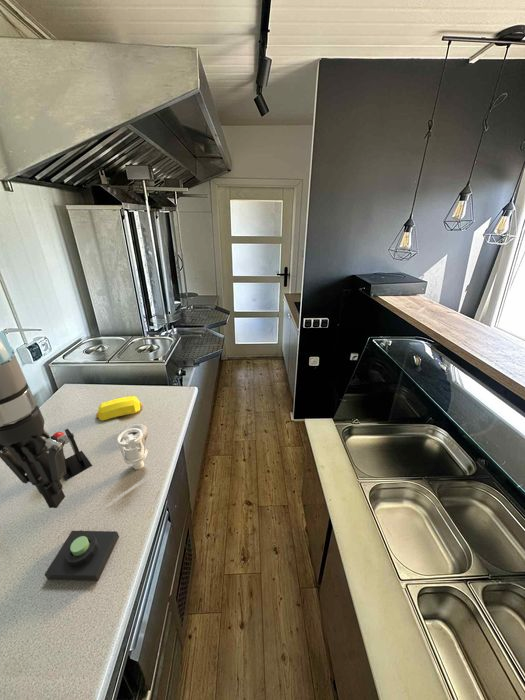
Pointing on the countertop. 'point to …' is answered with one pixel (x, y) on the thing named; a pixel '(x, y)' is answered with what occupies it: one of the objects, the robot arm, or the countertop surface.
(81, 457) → the bracket
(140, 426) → the donut
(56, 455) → the robot arm
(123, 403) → the yellow bar
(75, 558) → the black base plate
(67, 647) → the countertop surface
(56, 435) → the lever
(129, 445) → the white tall carved piece
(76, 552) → the button
